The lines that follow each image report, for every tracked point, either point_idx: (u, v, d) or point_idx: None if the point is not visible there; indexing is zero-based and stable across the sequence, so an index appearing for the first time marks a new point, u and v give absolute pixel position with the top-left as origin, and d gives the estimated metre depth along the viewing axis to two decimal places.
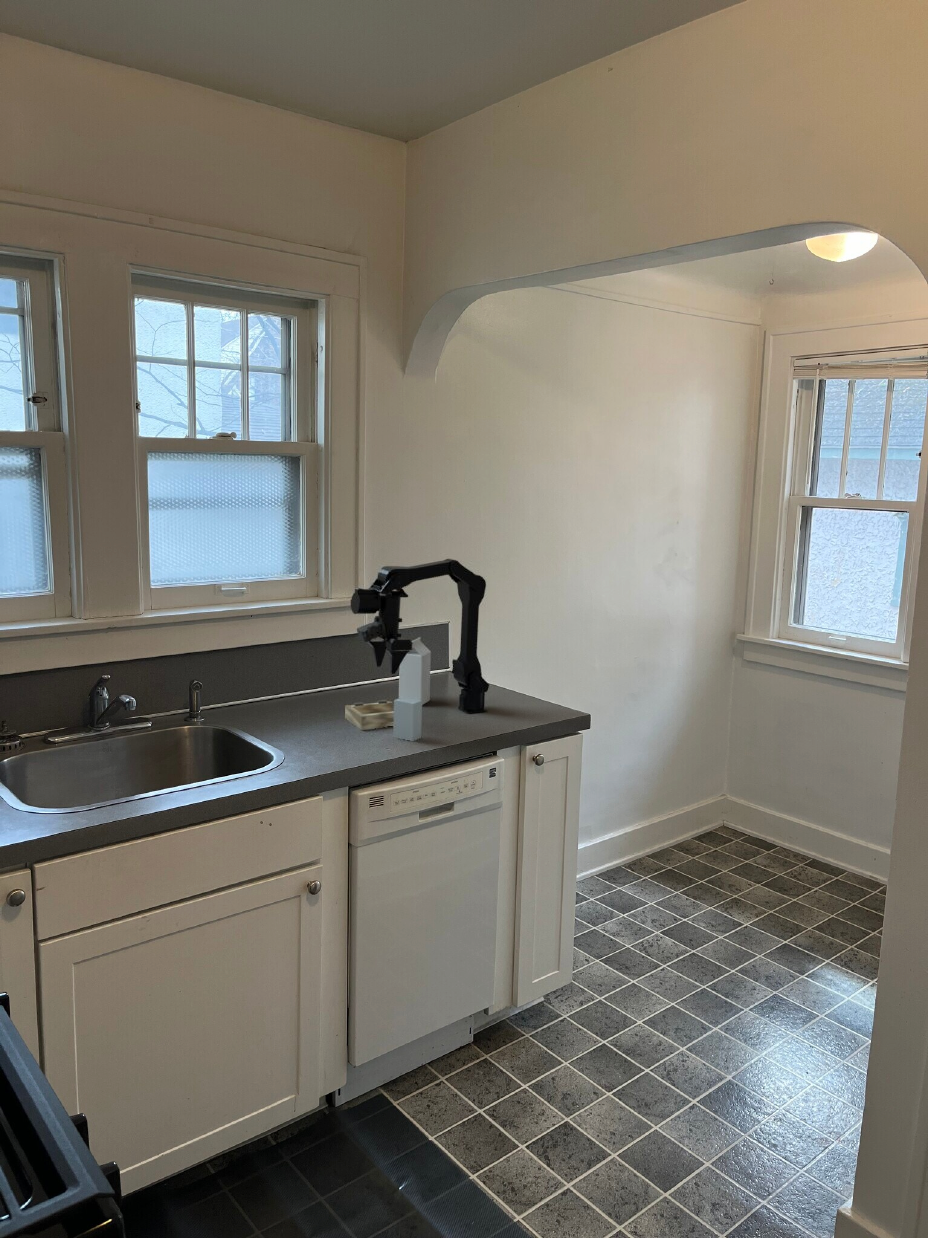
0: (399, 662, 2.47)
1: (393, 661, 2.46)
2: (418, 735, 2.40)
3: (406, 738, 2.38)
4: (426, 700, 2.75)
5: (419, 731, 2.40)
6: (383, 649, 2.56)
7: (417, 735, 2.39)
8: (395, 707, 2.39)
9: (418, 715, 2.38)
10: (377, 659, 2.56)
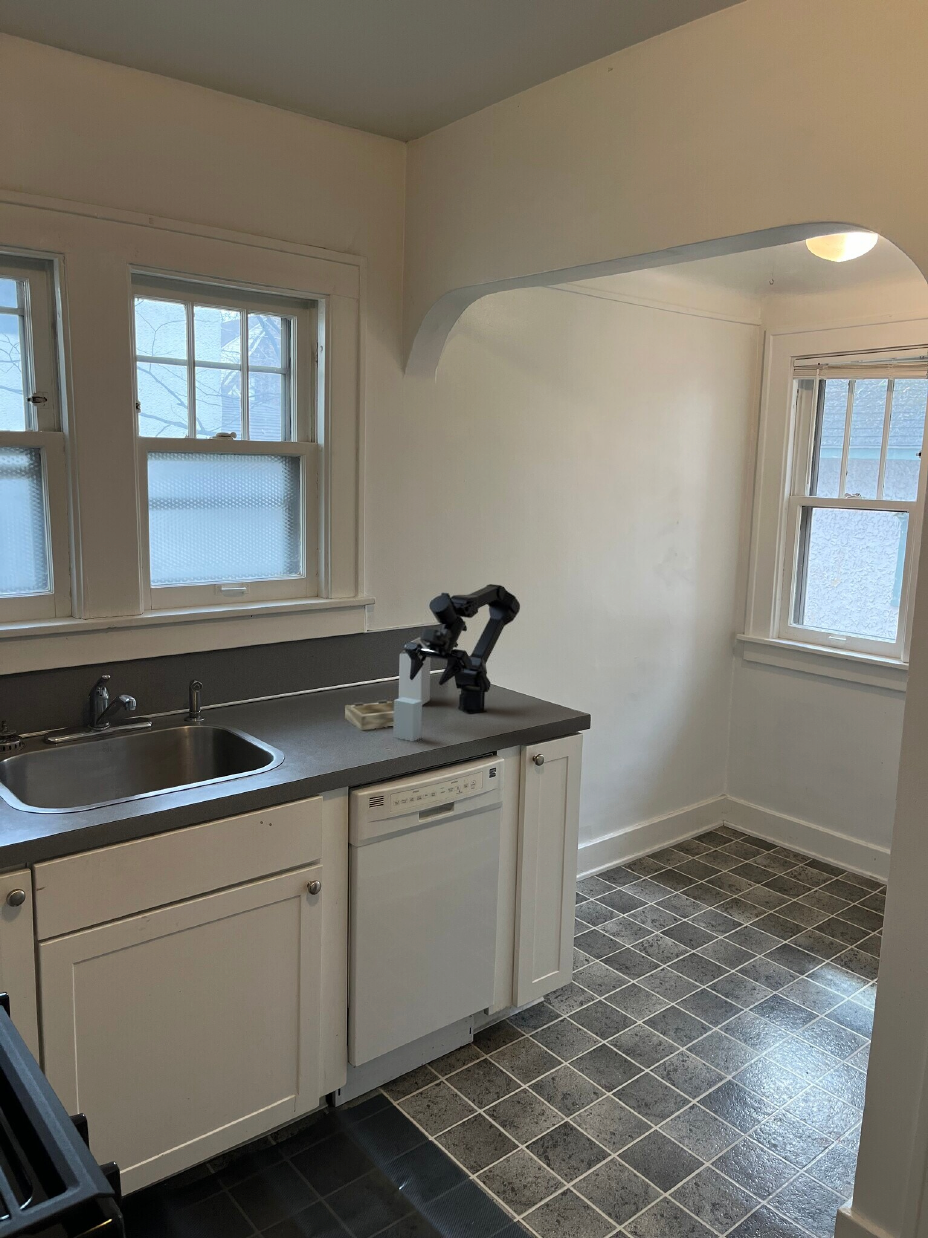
0: (450, 676, 2.44)
1: (448, 672, 2.43)
2: (418, 735, 2.40)
3: (406, 738, 2.38)
4: (426, 700, 2.75)
5: (419, 731, 2.40)
6: (419, 667, 2.51)
7: (417, 735, 2.39)
8: (395, 707, 2.39)
9: (418, 715, 2.38)
10: (413, 671, 2.48)
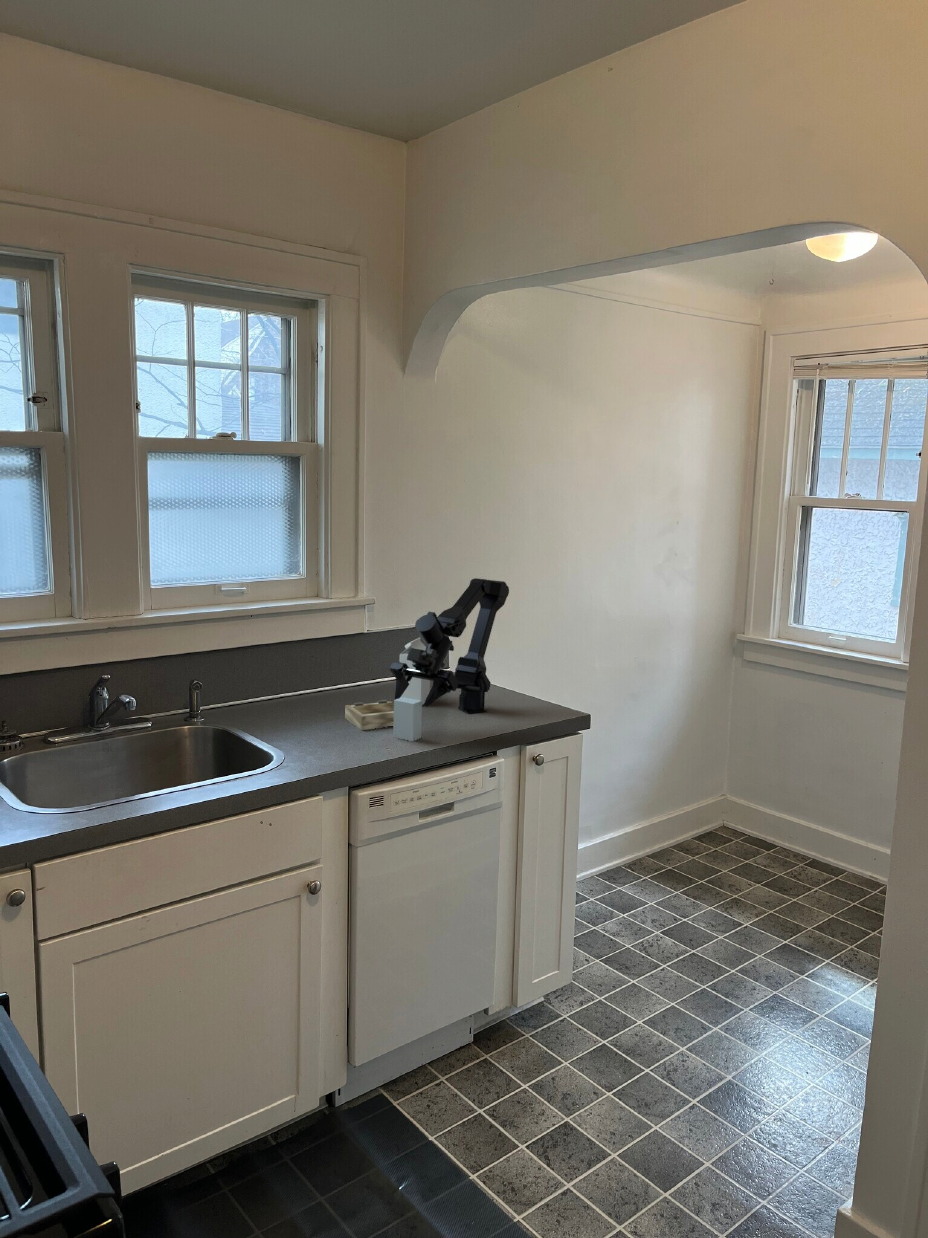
0: (435, 697, 2.39)
1: (434, 693, 2.38)
2: (418, 735, 2.40)
3: (406, 738, 2.38)
4: None
5: (419, 731, 2.40)
6: (404, 687, 2.46)
7: (417, 735, 2.39)
8: (395, 707, 2.39)
9: (418, 715, 2.38)
10: (398, 692, 2.43)
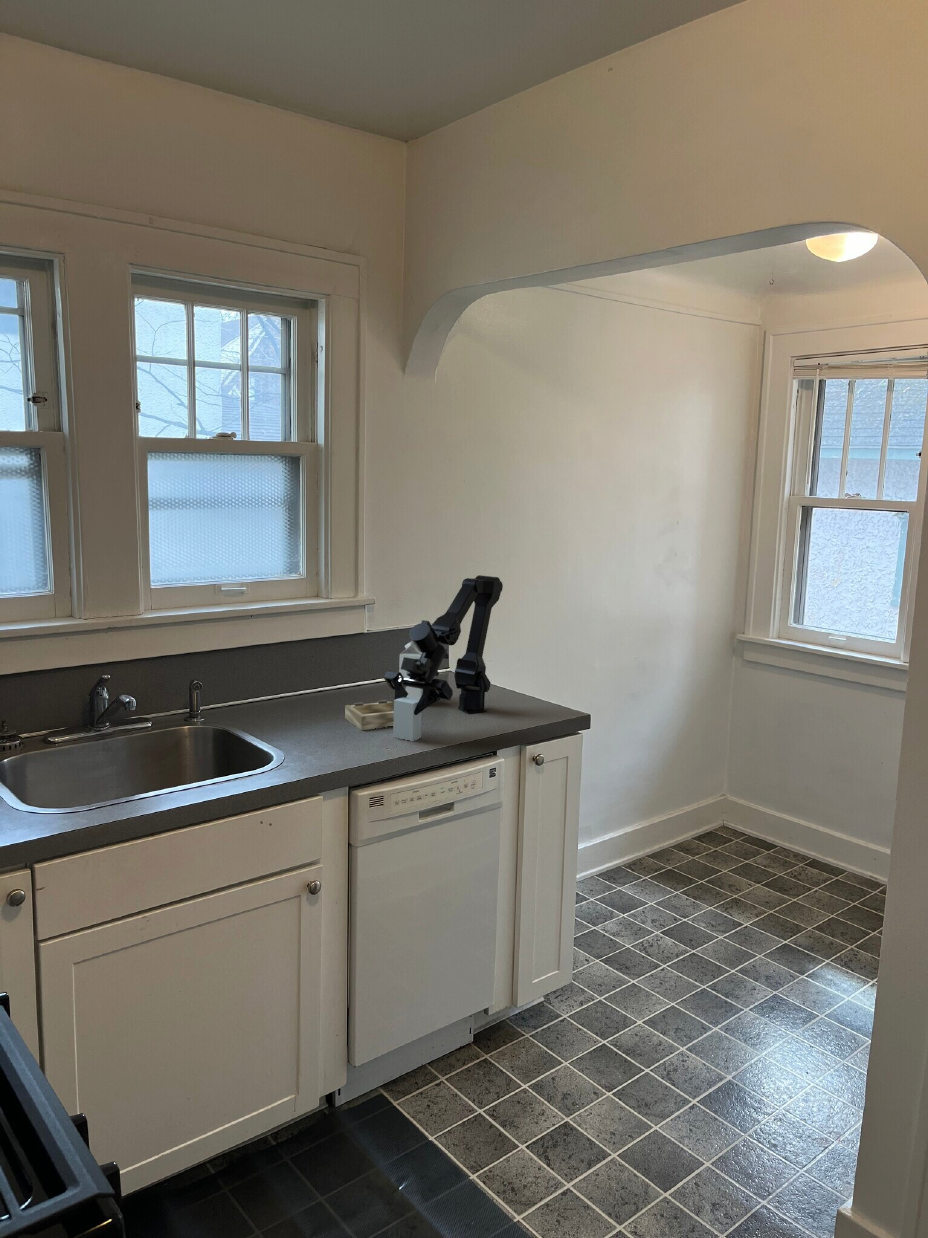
0: (425, 706, 2.38)
1: (423, 701, 2.37)
2: (418, 735, 2.39)
3: (406, 738, 2.38)
4: None
5: (419, 731, 2.40)
6: None
7: (417, 735, 2.39)
8: (395, 707, 2.39)
9: (418, 715, 2.38)
10: None
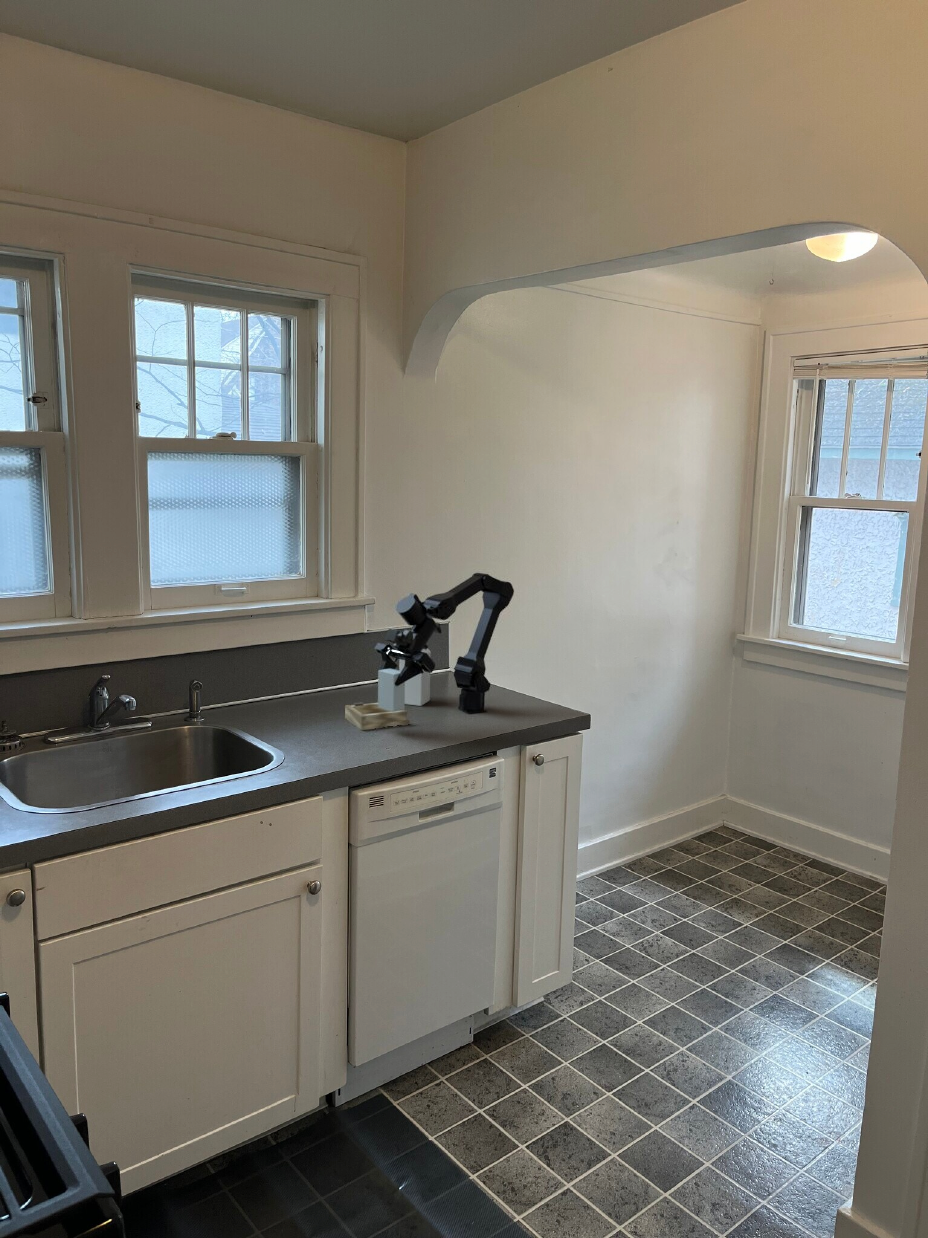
0: (407, 677, 2.42)
1: (405, 673, 2.41)
2: (400, 706, 2.43)
3: (388, 708, 2.43)
4: (426, 700, 2.75)
5: (402, 702, 2.43)
6: None
7: (399, 706, 2.43)
8: (379, 677, 2.44)
9: (400, 686, 2.42)
10: None
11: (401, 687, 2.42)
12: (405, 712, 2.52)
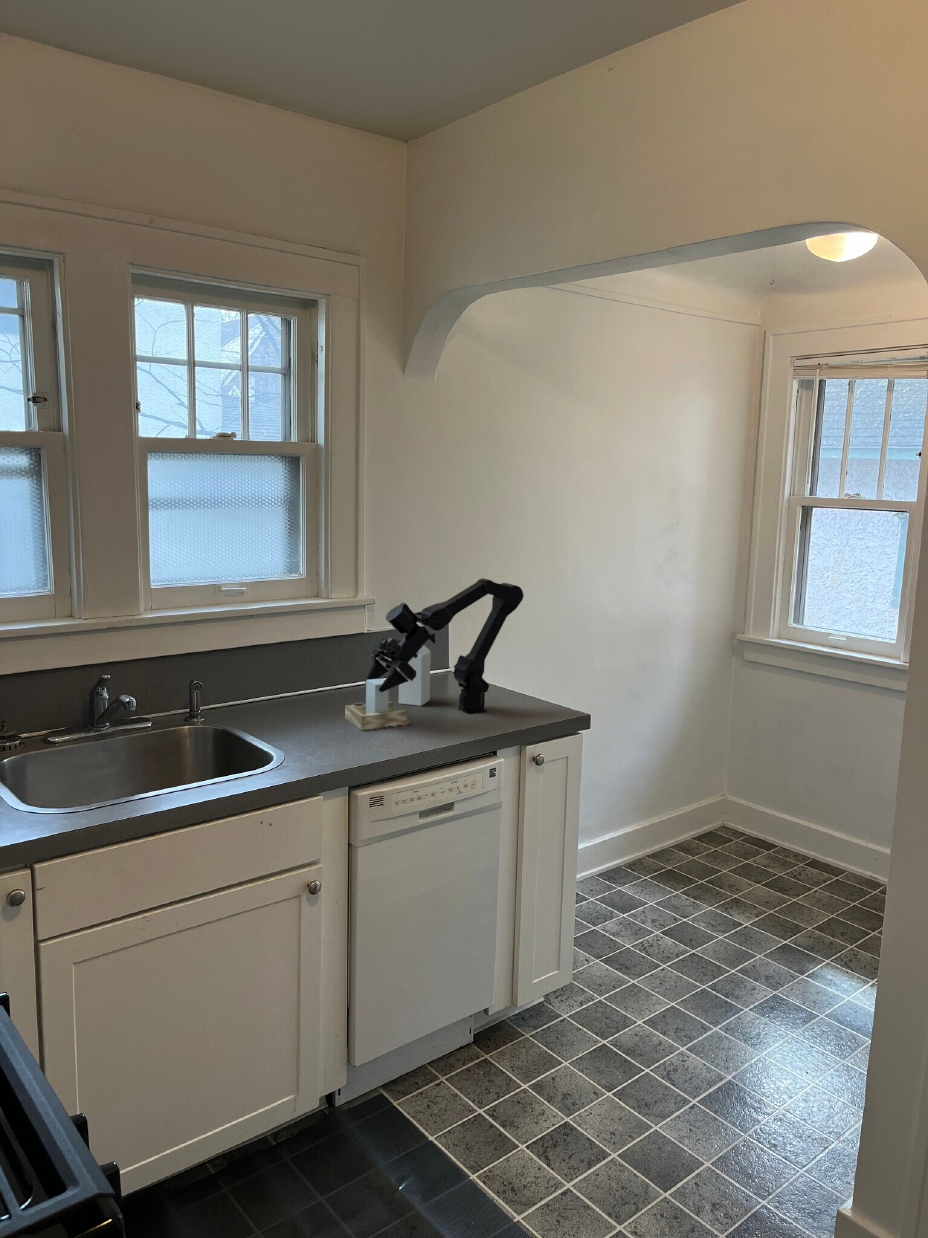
0: (392, 685, 2.48)
1: (389, 680, 2.47)
2: None
3: None
4: (426, 700, 2.75)
5: None
6: (380, 673, 2.58)
7: None
8: (367, 686, 2.54)
9: (383, 696, 2.51)
10: (370, 676, 2.56)
11: (384, 697, 2.51)
12: (405, 712, 2.52)
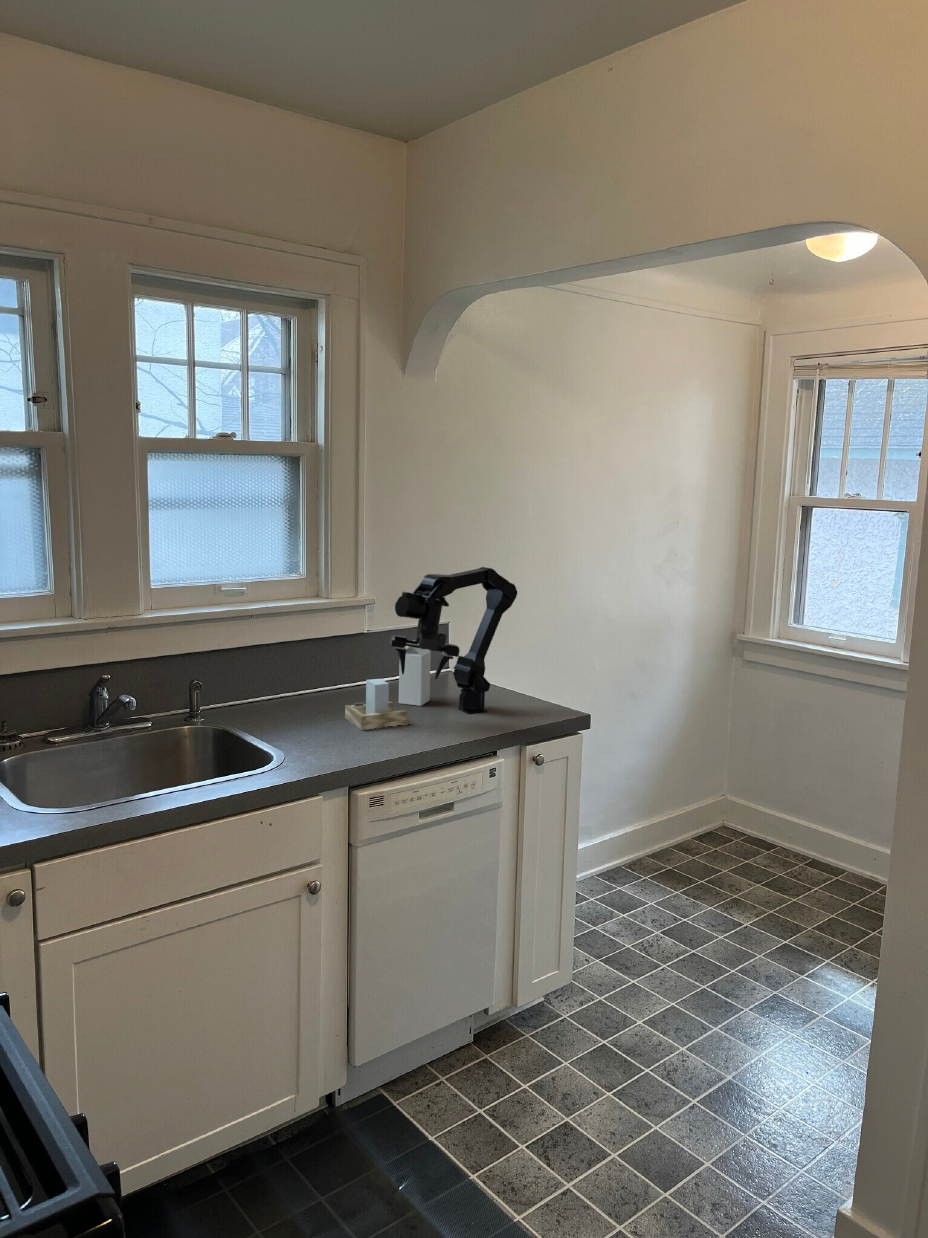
0: None
1: None
2: None
3: None
4: (426, 700, 2.75)
5: None
6: None
7: None
8: (366, 686, 2.54)
9: (383, 696, 2.50)
10: (404, 667, 2.53)
11: (384, 698, 2.51)
12: (405, 712, 2.52)
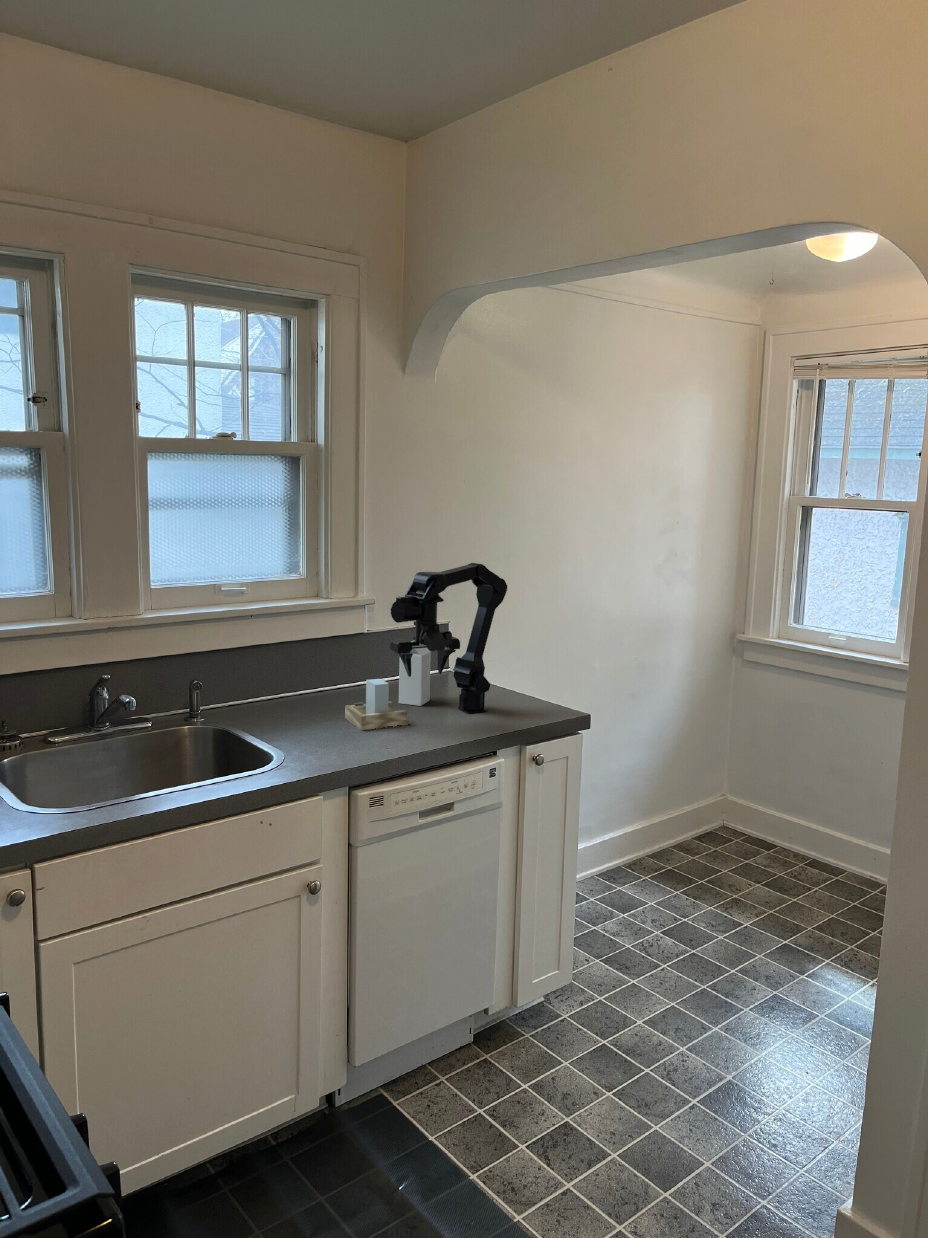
0: None
1: None
2: None
3: None
4: (426, 700, 2.75)
5: None
6: None
7: None
8: (366, 686, 2.54)
9: (383, 696, 2.50)
10: None
11: (384, 698, 2.51)
12: (405, 712, 2.52)
